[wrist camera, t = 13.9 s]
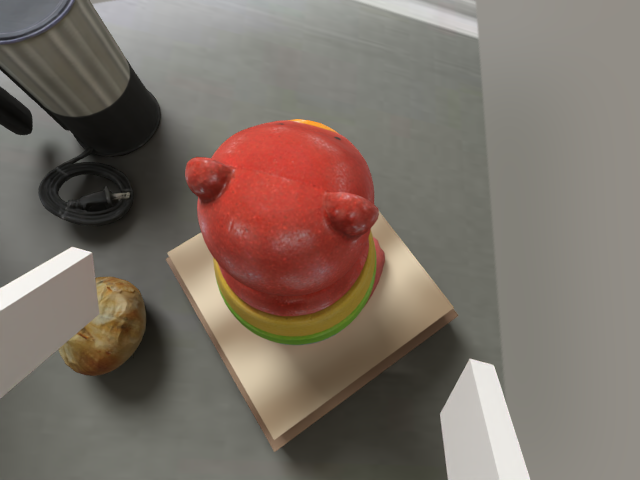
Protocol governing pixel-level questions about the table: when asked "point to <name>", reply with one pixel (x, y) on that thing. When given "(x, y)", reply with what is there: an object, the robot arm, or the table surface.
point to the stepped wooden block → (322, 357)
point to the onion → (108, 330)
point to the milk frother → (75, 97)
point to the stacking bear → (289, 229)
